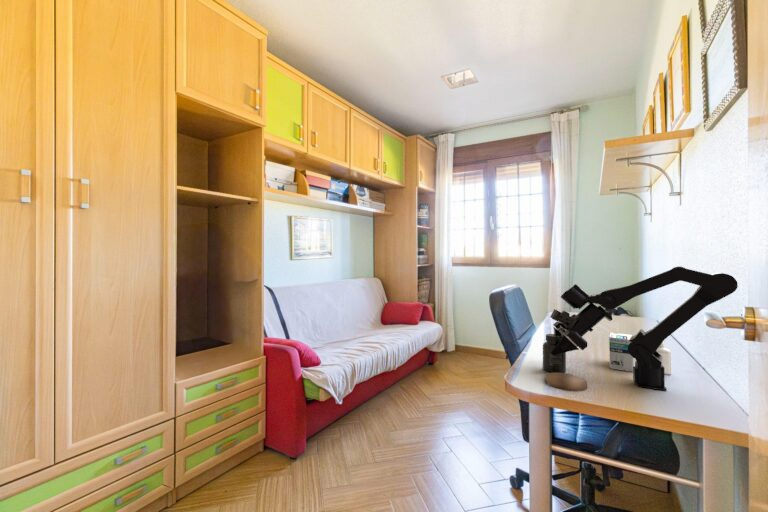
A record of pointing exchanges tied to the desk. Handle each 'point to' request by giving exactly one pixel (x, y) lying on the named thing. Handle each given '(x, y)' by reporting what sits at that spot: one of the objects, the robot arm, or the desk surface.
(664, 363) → the eye dropper bottle
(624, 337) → the light bulb box
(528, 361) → the desk surface
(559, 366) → the supplement bottle
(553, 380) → the walnut coaster
